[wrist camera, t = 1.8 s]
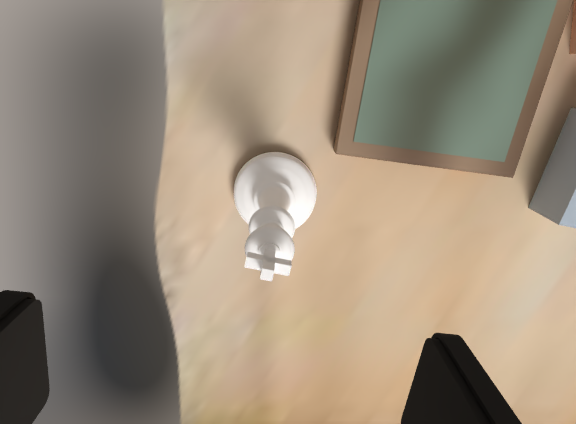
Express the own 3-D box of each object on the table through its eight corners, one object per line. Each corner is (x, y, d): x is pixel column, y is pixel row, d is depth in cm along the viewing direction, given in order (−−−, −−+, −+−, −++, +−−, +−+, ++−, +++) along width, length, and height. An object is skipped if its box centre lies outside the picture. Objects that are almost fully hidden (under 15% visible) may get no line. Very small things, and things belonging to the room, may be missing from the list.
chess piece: (242, 143, 22) (209, 195, 13) (325, 162, 23) (353, 226, 13) (227, 221, 24) (188, 319, 14) (305, 238, 24) (317, 343, 15)
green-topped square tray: (565, -22, 19) (583, -28, 18) (501, 172, 23) (513, 178, 22) (369, -53, 19) (374, -61, 18) (333, 149, 22) (336, 154, 21)
